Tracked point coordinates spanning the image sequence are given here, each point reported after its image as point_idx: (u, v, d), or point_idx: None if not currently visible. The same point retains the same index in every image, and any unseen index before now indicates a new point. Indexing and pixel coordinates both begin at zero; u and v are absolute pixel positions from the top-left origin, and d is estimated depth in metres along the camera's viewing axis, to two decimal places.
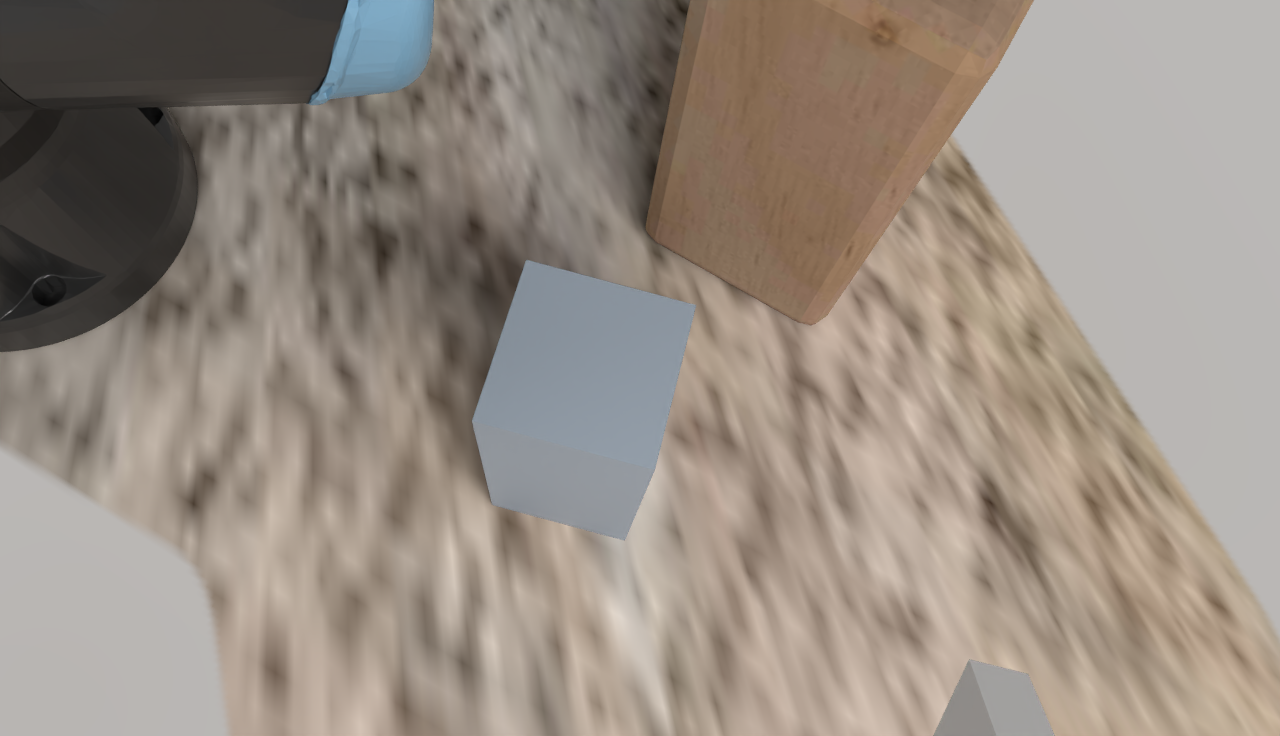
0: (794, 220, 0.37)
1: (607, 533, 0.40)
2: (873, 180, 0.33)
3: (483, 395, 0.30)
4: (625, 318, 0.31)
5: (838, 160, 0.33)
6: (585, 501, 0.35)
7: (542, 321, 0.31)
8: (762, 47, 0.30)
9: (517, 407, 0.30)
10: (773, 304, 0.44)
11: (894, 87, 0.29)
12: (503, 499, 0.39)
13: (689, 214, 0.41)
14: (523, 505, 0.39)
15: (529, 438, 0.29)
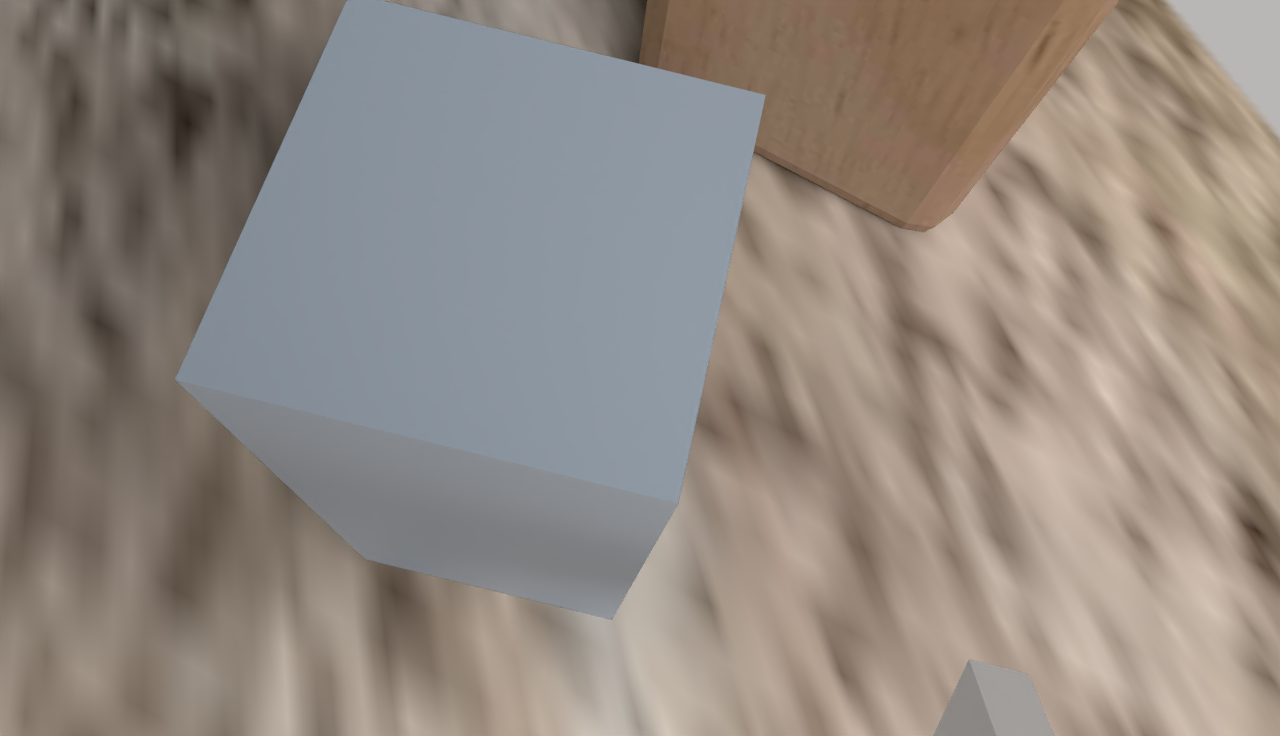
0: None
1: (579, 608, 0.21)
2: None
3: (212, 311, 0.11)
4: (592, 122, 0.13)
5: None
6: (524, 561, 0.17)
7: (385, 130, 0.12)
8: None
9: (305, 343, 0.11)
10: (861, 195, 0.25)
11: None
12: (376, 552, 0.20)
13: (716, 22, 0.23)
14: (415, 562, 0.20)
15: (337, 422, 0.11)
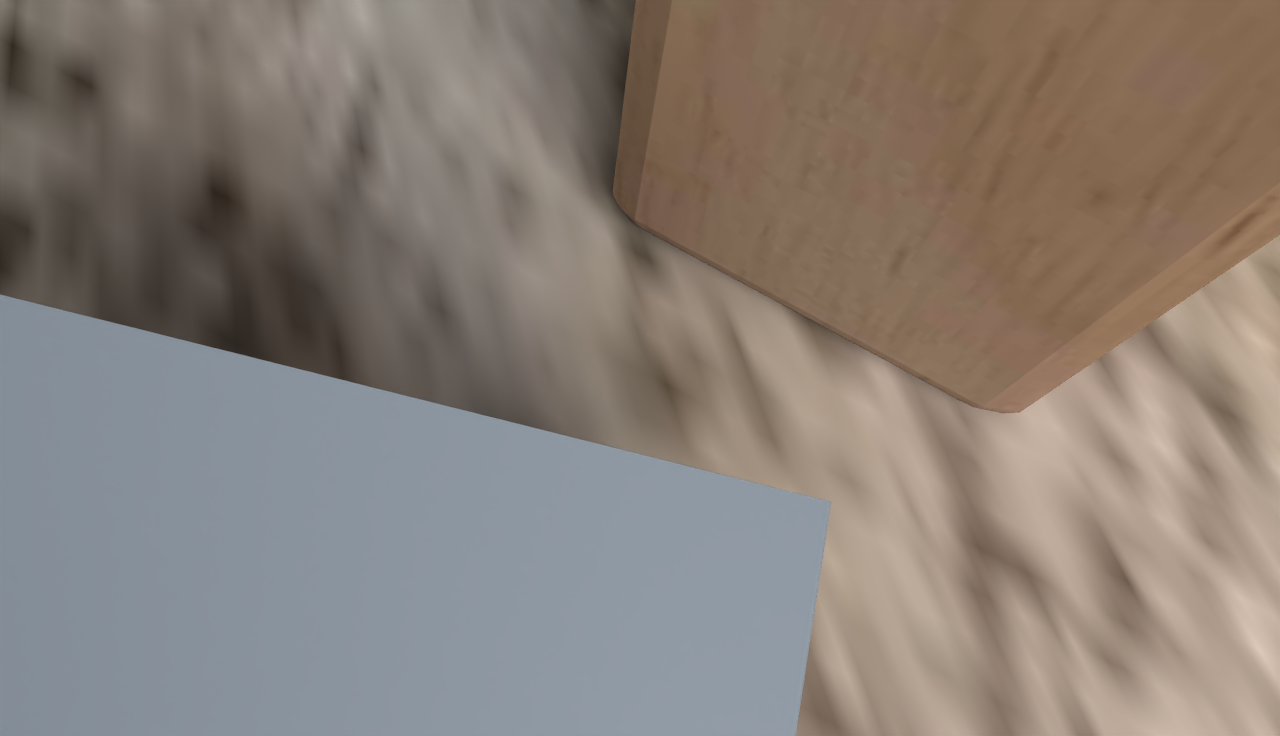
0: (1064, 134, 0.12)
1: None
2: None
3: None
4: (442, 595, 0.06)
5: None
6: None
7: None
8: None
9: None
10: (919, 368, 0.18)
11: None
12: None
13: (720, 146, 0.16)
14: None
15: None
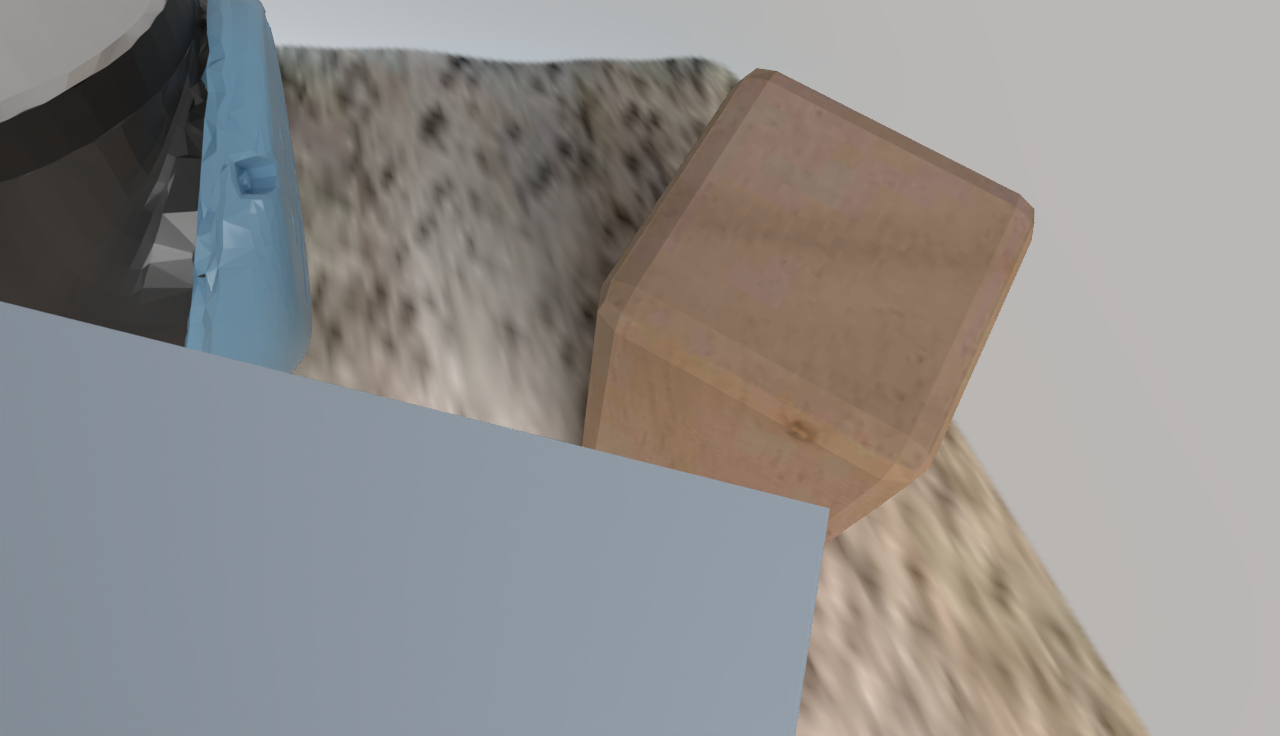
0: None
1: None
2: None
3: None
4: (440, 602, 0.06)
5: None
6: None
7: None
8: (672, 406, 0.27)
9: None
10: None
11: (817, 470, 0.26)
12: None
13: None
14: None
15: None
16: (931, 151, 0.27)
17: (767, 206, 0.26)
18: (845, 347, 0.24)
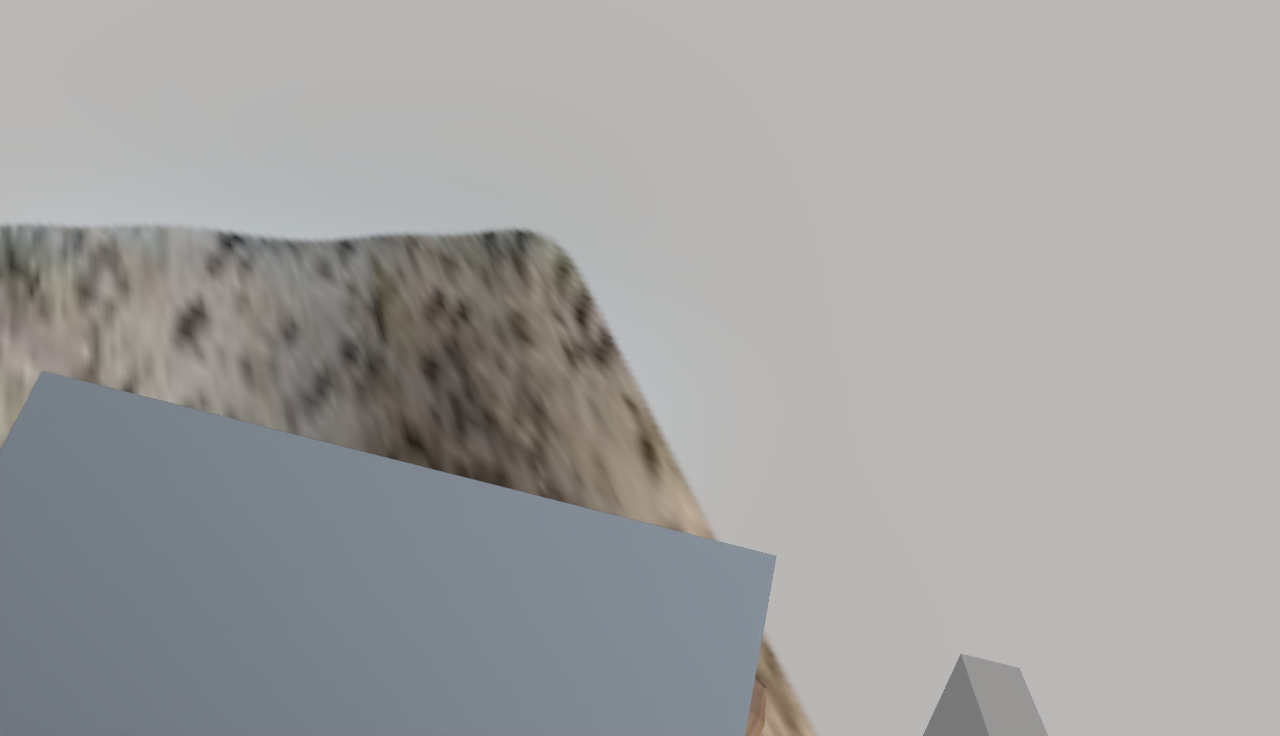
0: None
1: None
2: None
3: None
4: (461, 633, 0.07)
5: None
6: None
7: (68, 671, 0.07)
8: None
9: None
10: None
11: None
12: None
13: None
14: None
15: None
16: None
17: None
18: None
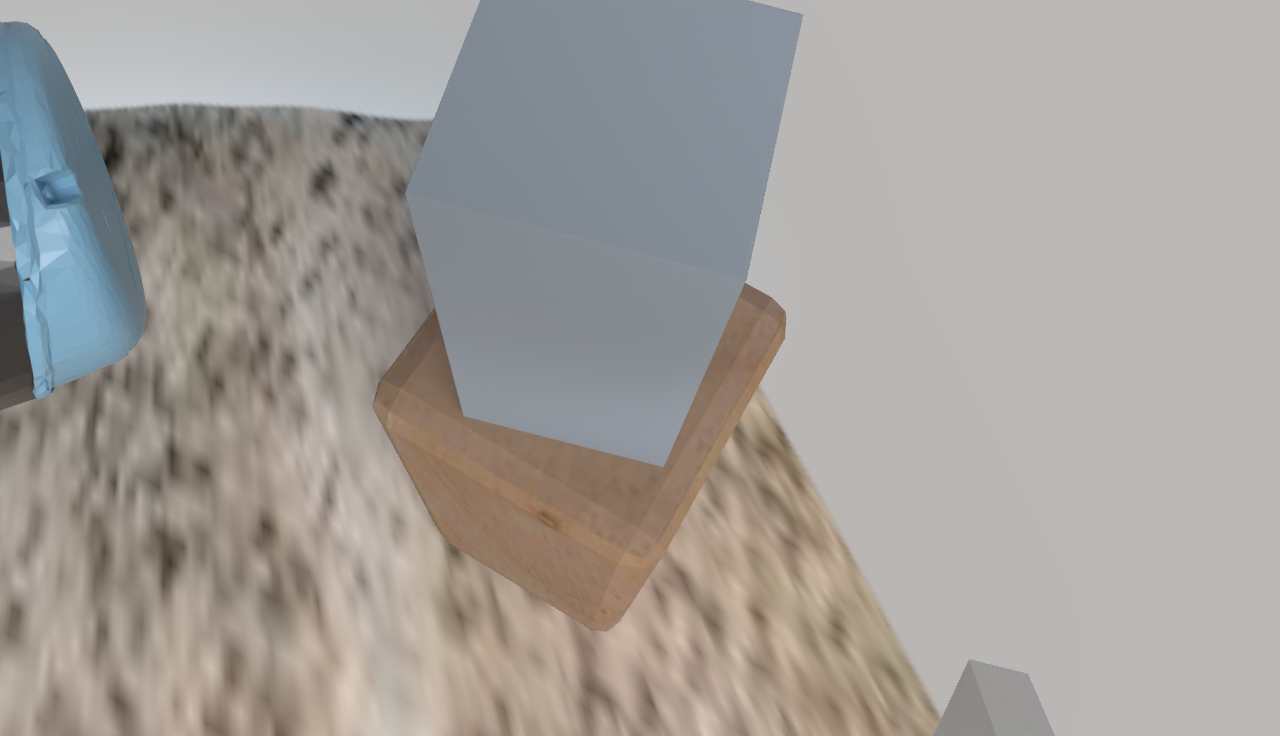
0: (548, 579, 0.37)
1: (638, 455, 0.26)
2: (594, 587, 0.32)
3: (427, 149, 0.16)
4: (680, 31, 0.18)
5: (559, 566, 0.33)
6: (608, 387, 0.22)
7: (535, 33, 0.17)
8: (456, 487, 0.30)
9: (490, 172, 0.16)
10: (563, 612, 0.43)
11: (575, 550, 0.28)
12: (478, 401, 0.25)
13: (464, 541, 0.41)
14: (509, 411, 0.25)
15: (513, 224, 0.16)
16: None
17: None
18: None
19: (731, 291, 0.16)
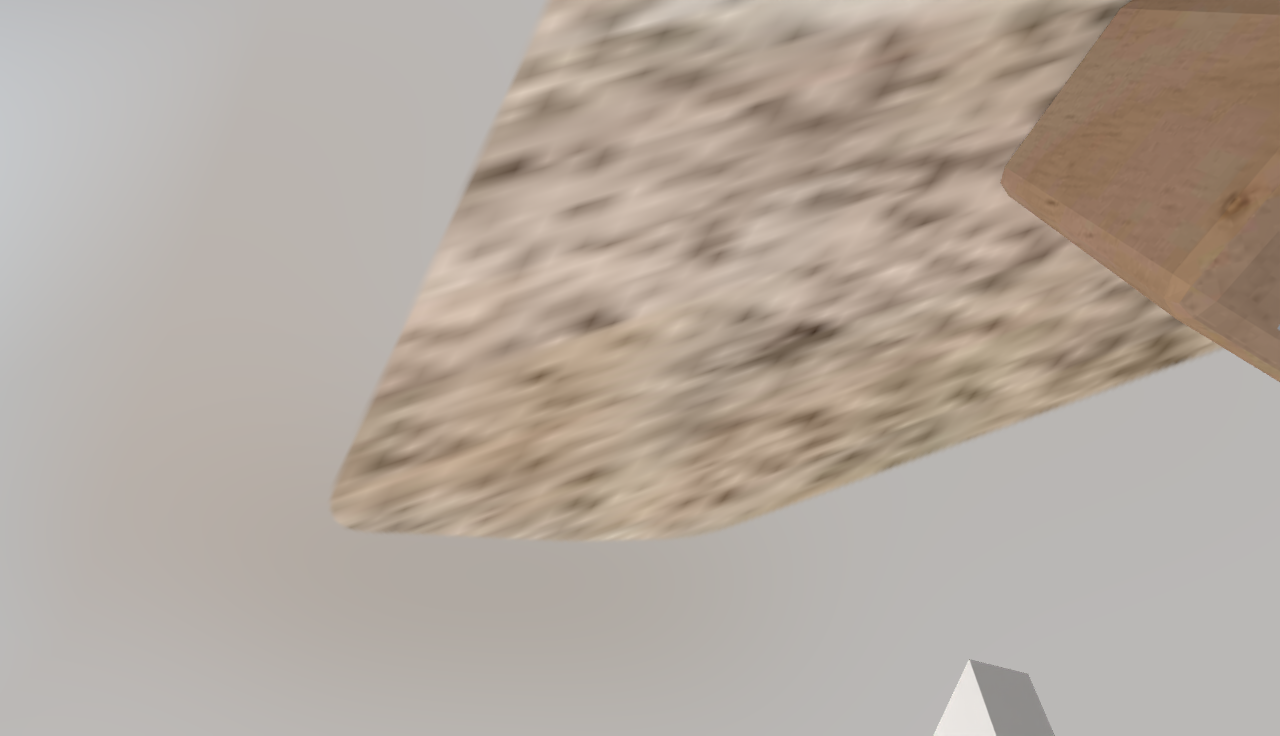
0: (1093, 147, 0.36)
1: None
2: (1104, 214, 0.32)
3: None
4: None
5: (1133, 179, 0.32)
6: None
7: None
8: (1268, 85, 0.27)
9: None
10: (1025, 140, 0.43)
11: (1179, 221, 0.28)
12: None
13: (1132, 40, 0.38)
14: None
15: None
16: None
17: None
18: None
19: None
